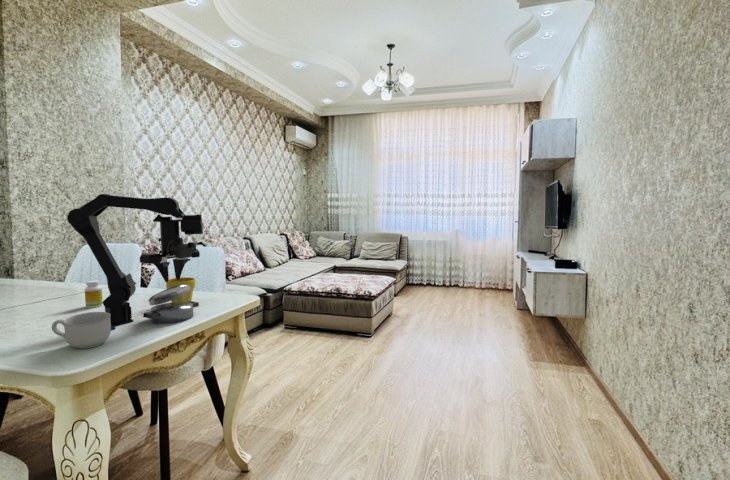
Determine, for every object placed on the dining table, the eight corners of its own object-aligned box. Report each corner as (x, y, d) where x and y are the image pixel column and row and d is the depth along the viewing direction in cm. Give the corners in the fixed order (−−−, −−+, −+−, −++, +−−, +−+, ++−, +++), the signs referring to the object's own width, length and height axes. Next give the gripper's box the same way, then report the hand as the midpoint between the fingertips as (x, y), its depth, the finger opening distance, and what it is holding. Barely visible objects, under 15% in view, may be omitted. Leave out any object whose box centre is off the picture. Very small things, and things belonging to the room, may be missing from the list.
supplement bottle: (100, 307, 150) (99, 282, 149) (84, 308, 148) (82, 283, 147) (104, 303, 155) (102, 279, 154) (88, 305, 153) (86, 280, 152)
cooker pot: (160, 327, 124) (160, 315, 124) (135, 322, 130) (135, 310, 130) (207, 314, 140) (206, 302, 139) (183, 309, 146) (182, 298, 146)
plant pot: (201, 301, 159) (200, 277, 158) (187, 307, 148) (186, 282, 147) (177, 300, 160) (175, 276, 159) (161, 307, 149) (160, 281, 148)
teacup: (120, 338, 115) (118, 311, 114) (96, 351, 104) (94, 322, 104) (71, 338, 115) (69, 311, 114) (42, 352, 104) (40, 323, 103)
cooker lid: (162, 292, 126) (159, 285, 126) (142, 308, 132) (139, 301, 132) (197, 285, 138) (194, 278, 138) (177, 299, 144) (174, 293, 144)
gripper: (159, 238, 120) (162, 288, 122) (209, 233, 136) (211, 278, 138) (137, 236, 125) (140, 285, 127) (188, 232, 142) (190, 275, 143)
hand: (172, 280), depth 134 cm, fingers open, 4 cm apart
